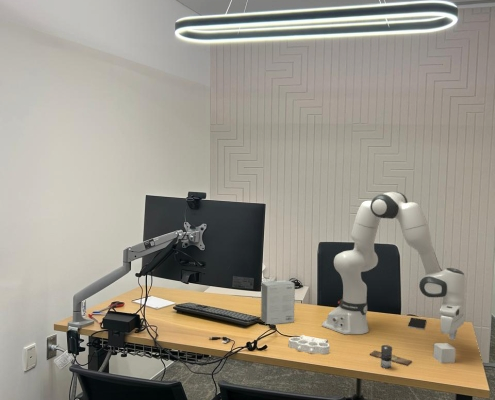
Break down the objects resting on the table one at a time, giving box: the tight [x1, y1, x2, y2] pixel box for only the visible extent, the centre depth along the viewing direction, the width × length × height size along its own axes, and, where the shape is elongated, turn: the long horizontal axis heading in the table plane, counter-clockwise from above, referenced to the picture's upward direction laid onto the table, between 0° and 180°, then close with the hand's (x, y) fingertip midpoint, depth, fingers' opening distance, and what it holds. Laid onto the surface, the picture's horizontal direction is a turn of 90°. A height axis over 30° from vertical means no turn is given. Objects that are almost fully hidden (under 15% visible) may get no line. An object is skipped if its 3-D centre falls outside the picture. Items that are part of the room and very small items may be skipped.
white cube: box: [432, 342, 456, 364], centre depth 195 cm, size 6×6×6 cm
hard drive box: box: [260, 279, 296, 325], centre depth 239 cm, size 16×8×20 cm, turn 108°
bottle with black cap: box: [380, 344, 393, 370], centre depth 187 cm, size 4×4×8 cm
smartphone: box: [407, 317, 427, 331], centre depth 240 cm, size 8×1×15 cm
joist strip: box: [369, 350, 413, 367], centre depth 195 cm, size 16×6×1 cm, turn 50°
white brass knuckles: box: [288, 334, 331, 355], centre depth 205 cm, size 3×18×15 cm
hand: (452, 339), depth 201 cm, fingers closed
